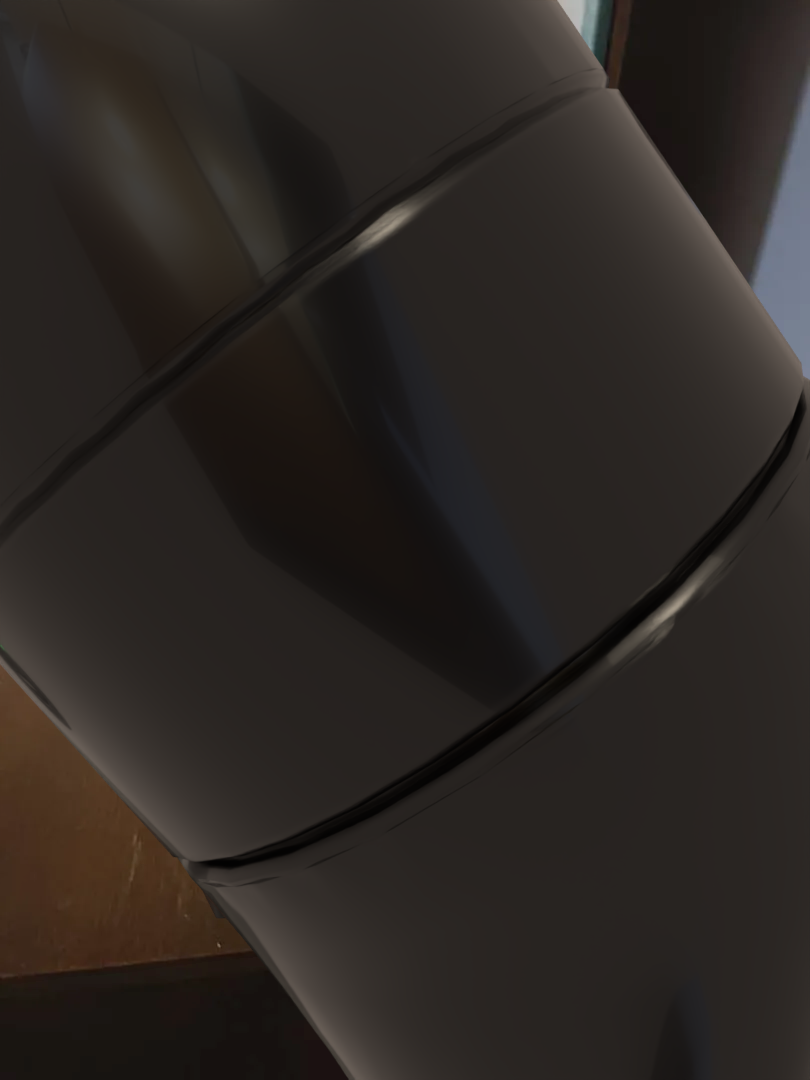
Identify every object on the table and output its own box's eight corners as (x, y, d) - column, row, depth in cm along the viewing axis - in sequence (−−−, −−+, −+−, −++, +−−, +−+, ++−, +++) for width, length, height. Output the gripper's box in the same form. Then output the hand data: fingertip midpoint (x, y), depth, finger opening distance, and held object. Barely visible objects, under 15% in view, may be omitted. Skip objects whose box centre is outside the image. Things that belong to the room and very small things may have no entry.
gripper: (626, 671, 28) (452, 659, 43) (180, 812, 23) (165, 743, 39) (686, 901, 27) (490, 806, 43) (246, 1088, 23) (204, 907, 38)
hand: (335, 776), depth 41 cm, fingers open, 8 cm apart
